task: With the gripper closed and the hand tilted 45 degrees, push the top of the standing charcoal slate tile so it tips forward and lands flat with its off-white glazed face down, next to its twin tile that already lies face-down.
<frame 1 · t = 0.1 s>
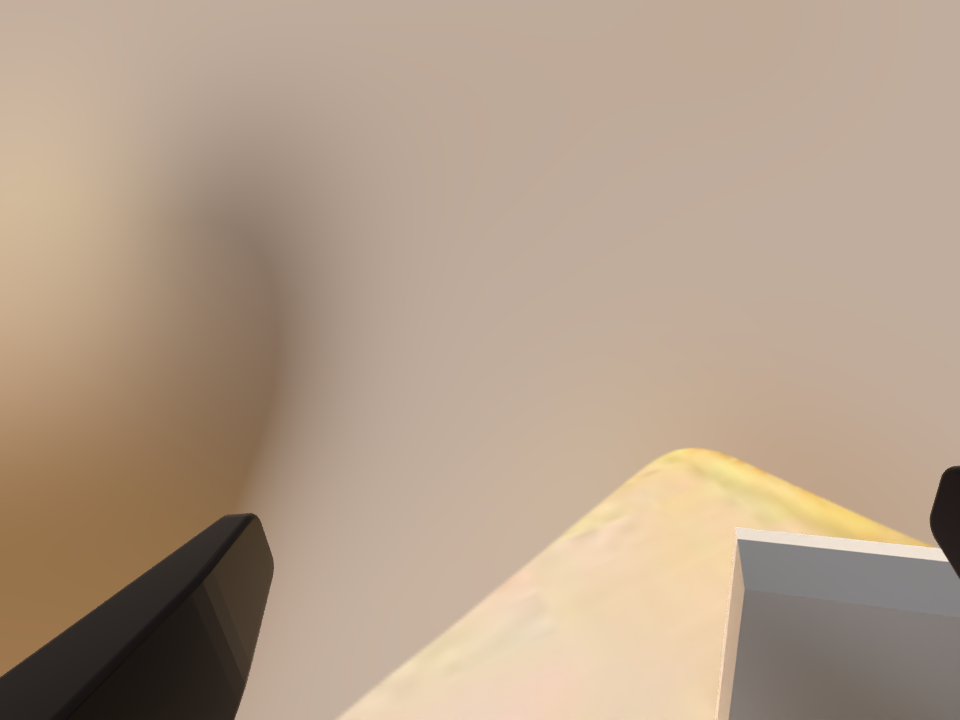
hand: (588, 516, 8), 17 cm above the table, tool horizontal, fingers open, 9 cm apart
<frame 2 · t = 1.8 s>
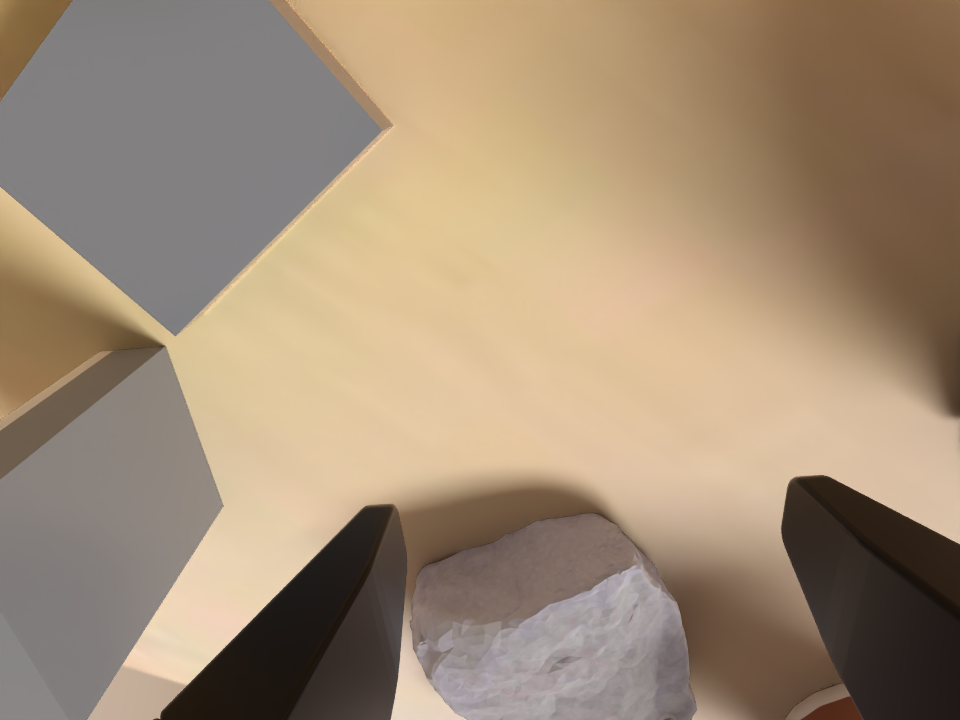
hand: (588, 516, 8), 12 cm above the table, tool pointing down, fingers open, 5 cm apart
tile: (165, 433, 22), on the table
twin tile: (208, 135, 18), on the table
stone block: (563, 615, 26), on the table
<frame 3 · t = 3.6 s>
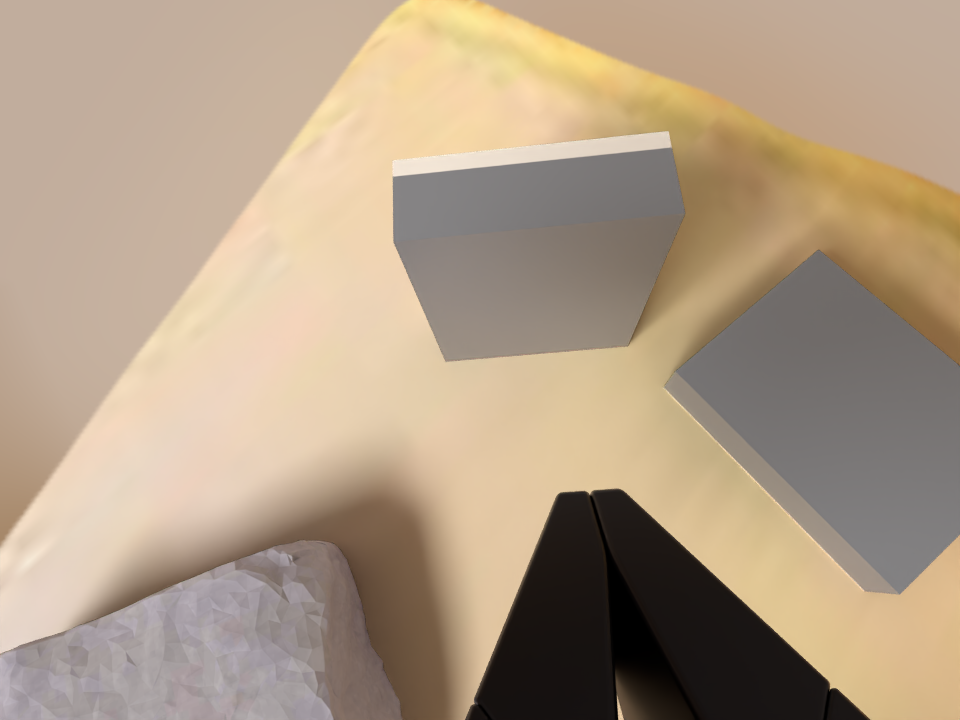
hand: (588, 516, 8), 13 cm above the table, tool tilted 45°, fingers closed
tile: (532, 325, 23), on the table
twin tile: (820, 421, 21), on the table
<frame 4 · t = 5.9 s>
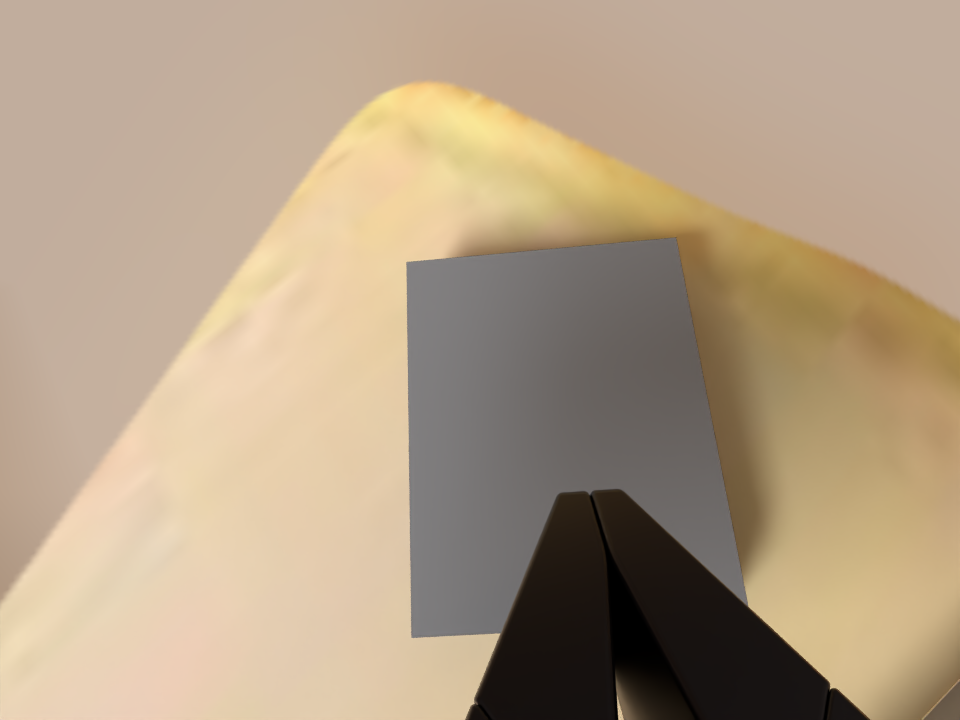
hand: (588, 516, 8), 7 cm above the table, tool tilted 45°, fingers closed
tile: (574, 624, 13), point 1 cm above the table, tilted 90°
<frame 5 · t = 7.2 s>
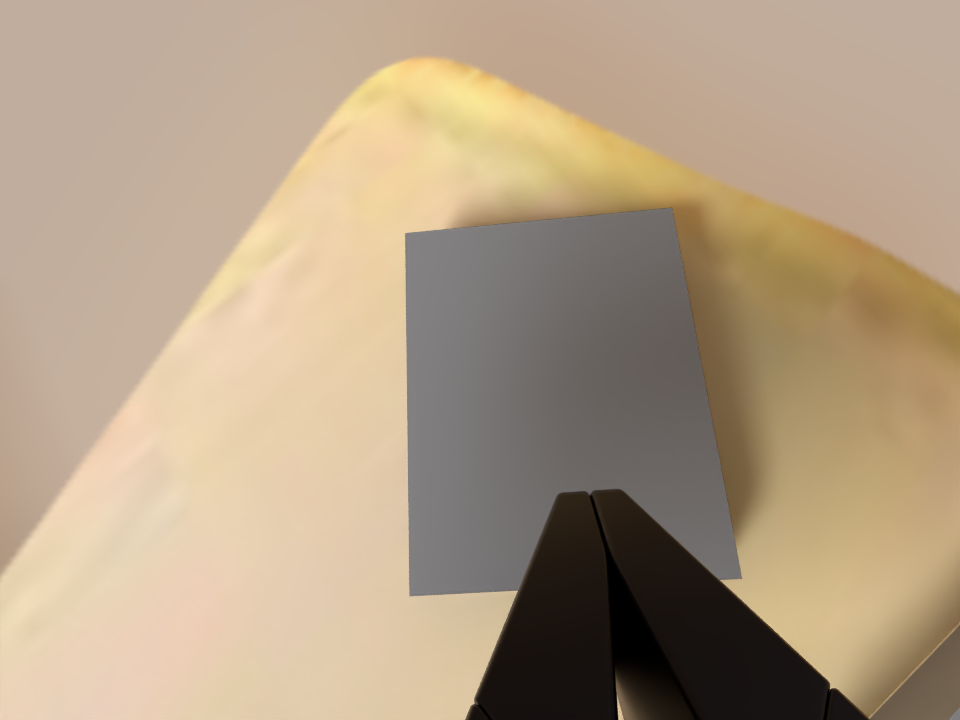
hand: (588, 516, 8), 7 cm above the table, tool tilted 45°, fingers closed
tile: (569, 585, 13), point 1 cm above the table, tilted 90°
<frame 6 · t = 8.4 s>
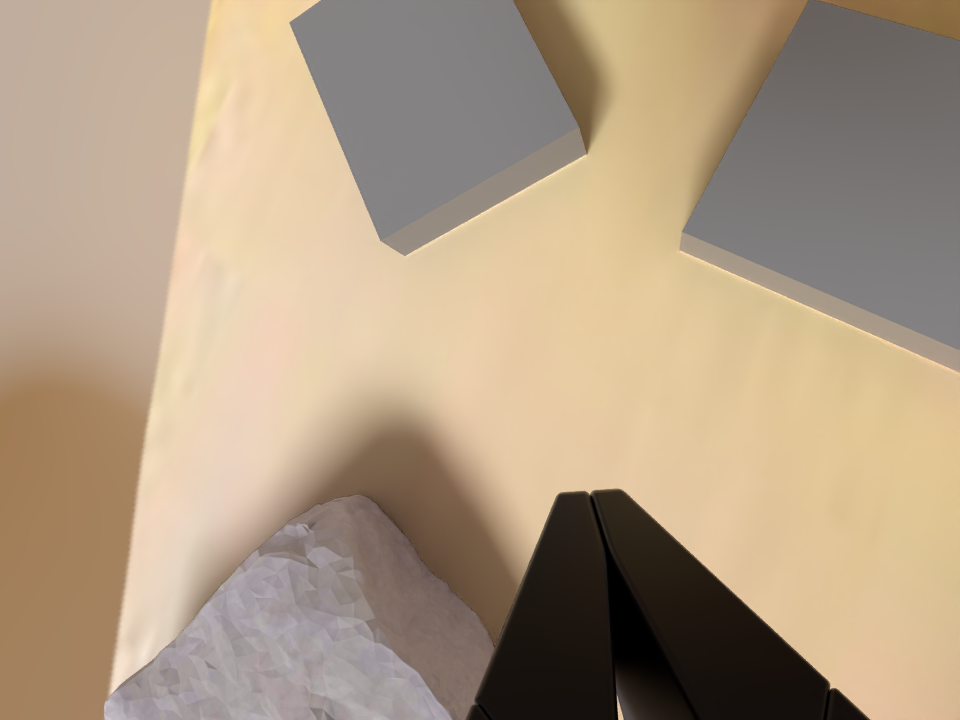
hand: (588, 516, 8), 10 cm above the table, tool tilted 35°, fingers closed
tile: (486, 199, 19), point 1 cm above the table, tilted 90°
twin tile: (884, 210, 17), on the table
stone block: (344, 695, 20), on the table
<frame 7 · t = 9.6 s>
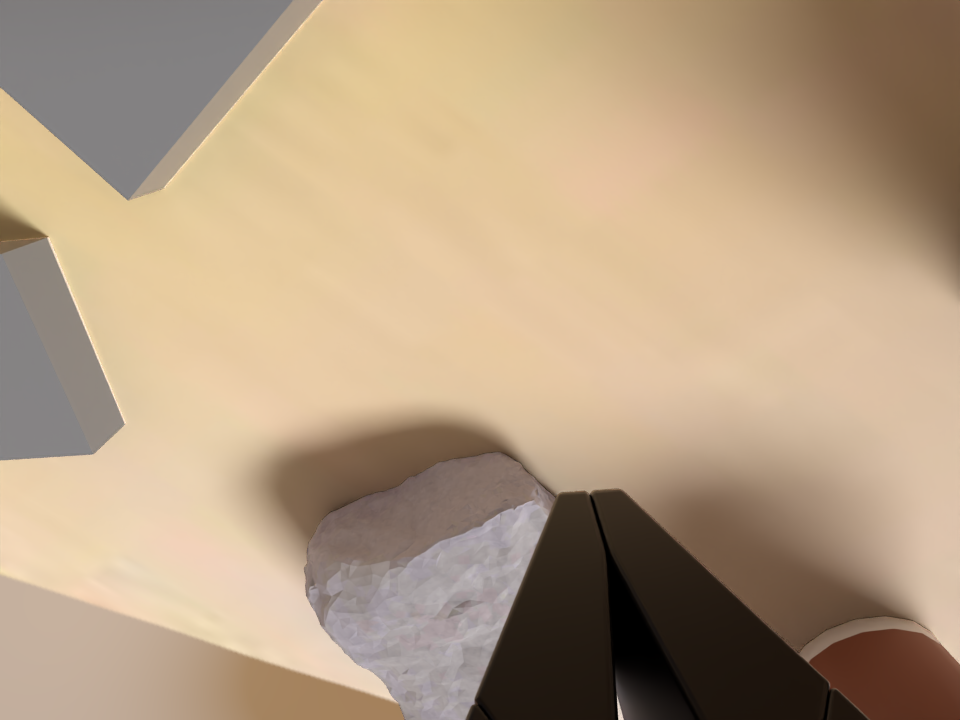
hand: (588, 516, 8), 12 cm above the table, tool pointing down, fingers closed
tile: (75, 346, 19), point 1 cm above the table, tilted 90°
coffee cup: (861, 662, 27), on the table
stone block: (481, 566, 25), on the table
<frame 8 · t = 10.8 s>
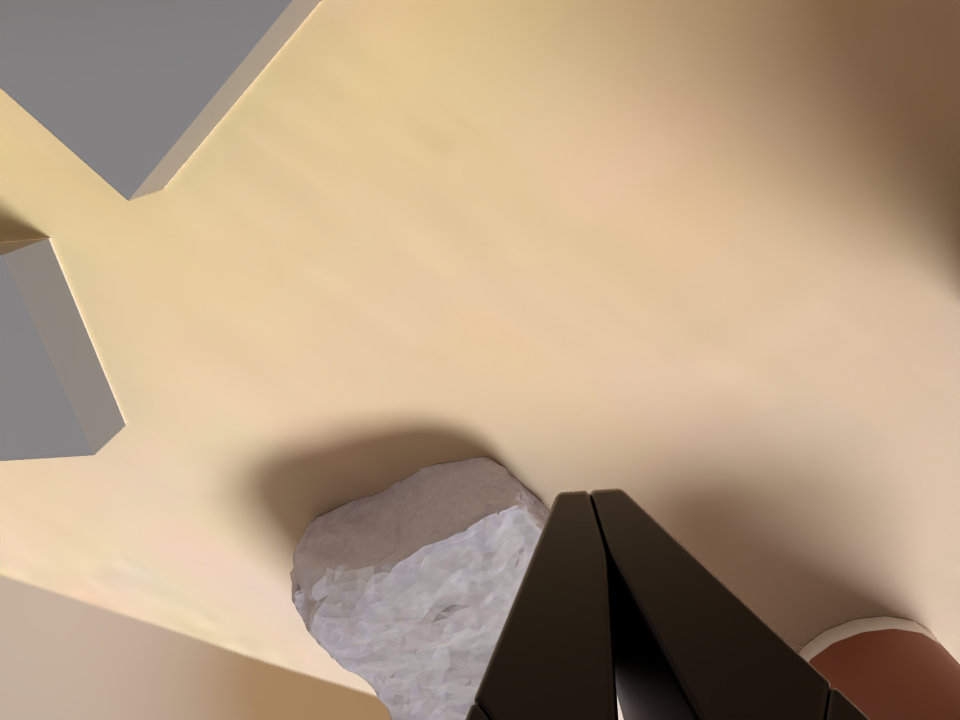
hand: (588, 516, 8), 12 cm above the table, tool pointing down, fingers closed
tile: (76, 347, 19), point 1 cm above the table, tilted 90°
coffee cup: (861, 662, 27), on the table
stone block: (468, 570, 25), on the table
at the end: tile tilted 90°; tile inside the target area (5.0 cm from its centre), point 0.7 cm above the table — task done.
